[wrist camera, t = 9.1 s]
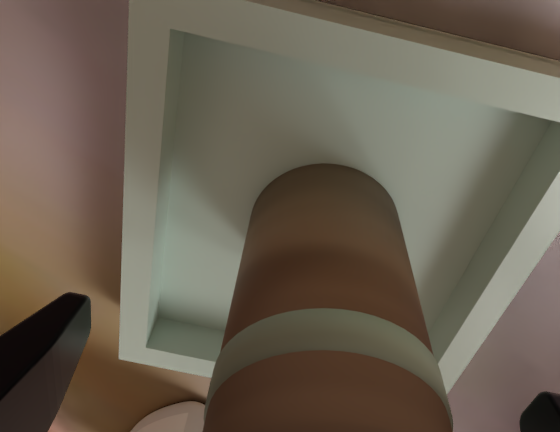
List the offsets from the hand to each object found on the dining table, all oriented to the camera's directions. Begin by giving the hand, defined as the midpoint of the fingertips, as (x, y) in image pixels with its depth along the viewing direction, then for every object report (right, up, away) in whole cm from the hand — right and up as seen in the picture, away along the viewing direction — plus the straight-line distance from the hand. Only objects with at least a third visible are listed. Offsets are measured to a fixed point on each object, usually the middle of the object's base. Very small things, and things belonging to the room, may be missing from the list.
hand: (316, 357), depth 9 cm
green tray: (0, +3, +4) cm, 5 cm away
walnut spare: (0, +2, +4) cm, 4 cm away
